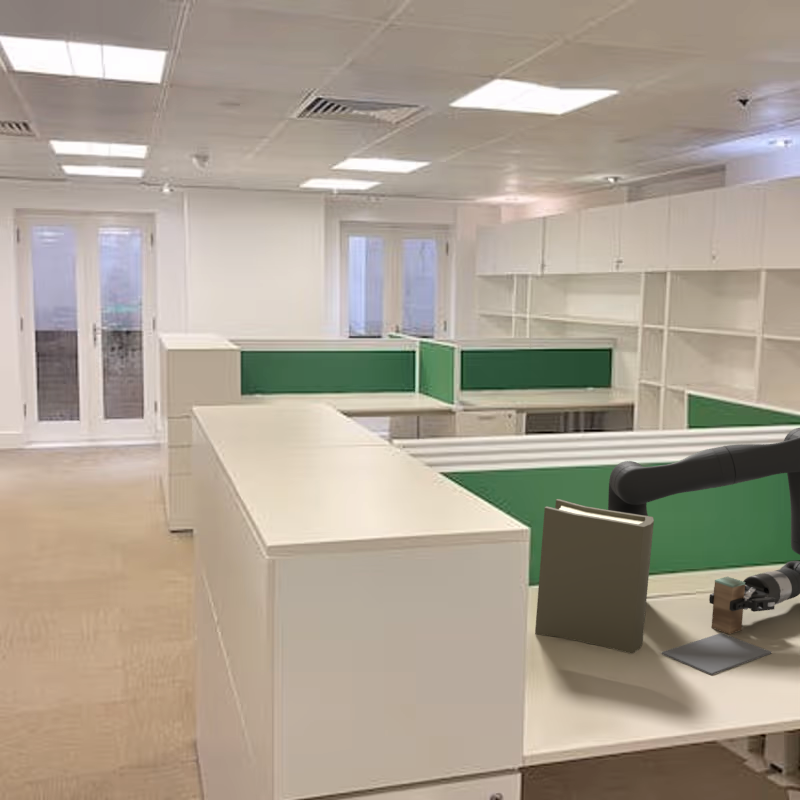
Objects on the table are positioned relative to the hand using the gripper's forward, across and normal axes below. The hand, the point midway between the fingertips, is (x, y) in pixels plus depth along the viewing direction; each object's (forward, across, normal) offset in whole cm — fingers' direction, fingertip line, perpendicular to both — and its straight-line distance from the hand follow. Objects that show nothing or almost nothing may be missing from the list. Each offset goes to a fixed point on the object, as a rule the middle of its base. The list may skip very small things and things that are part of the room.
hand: (721, 602), depth 199 cm
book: (+27, -13, +7) cm, 30 cm away
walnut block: (-3, 0, +6) cm, 7 cm away
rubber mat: (+11, +7, +6) cm, 15 cm away
